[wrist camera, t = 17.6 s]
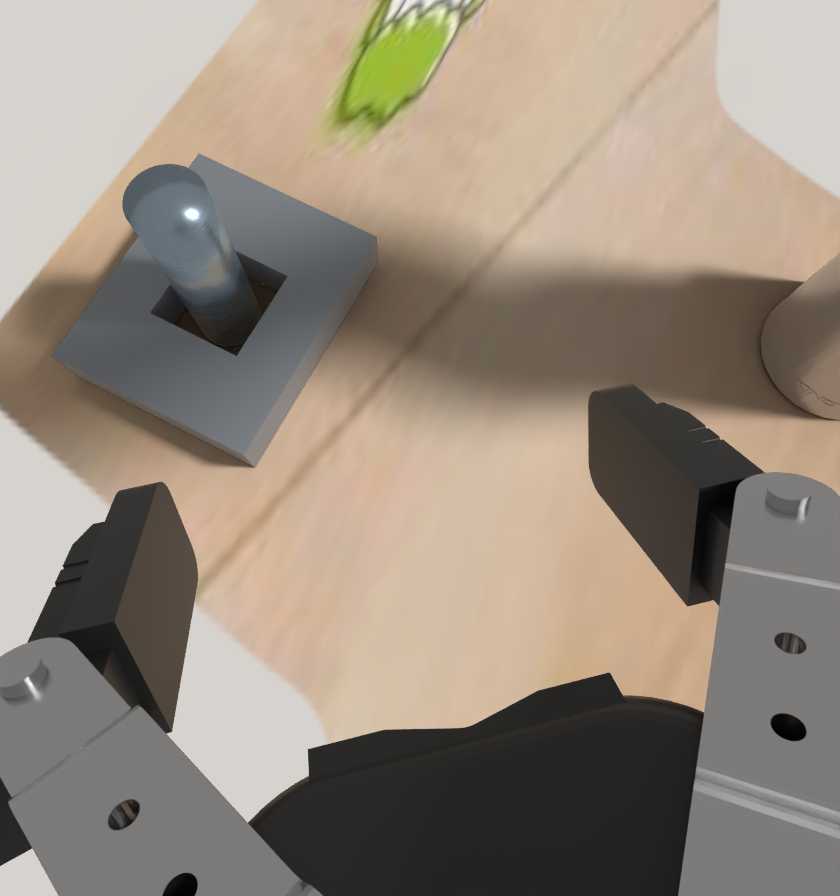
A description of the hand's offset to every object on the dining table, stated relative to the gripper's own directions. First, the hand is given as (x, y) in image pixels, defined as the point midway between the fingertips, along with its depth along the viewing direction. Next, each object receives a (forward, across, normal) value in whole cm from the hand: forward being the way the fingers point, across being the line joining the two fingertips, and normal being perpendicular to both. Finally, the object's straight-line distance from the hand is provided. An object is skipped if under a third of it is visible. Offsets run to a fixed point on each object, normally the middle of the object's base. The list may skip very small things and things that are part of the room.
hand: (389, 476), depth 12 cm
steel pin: (+32, +7, +6) cm, 33 cm away
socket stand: (+32, +7, +6) cm, 33 cm away
